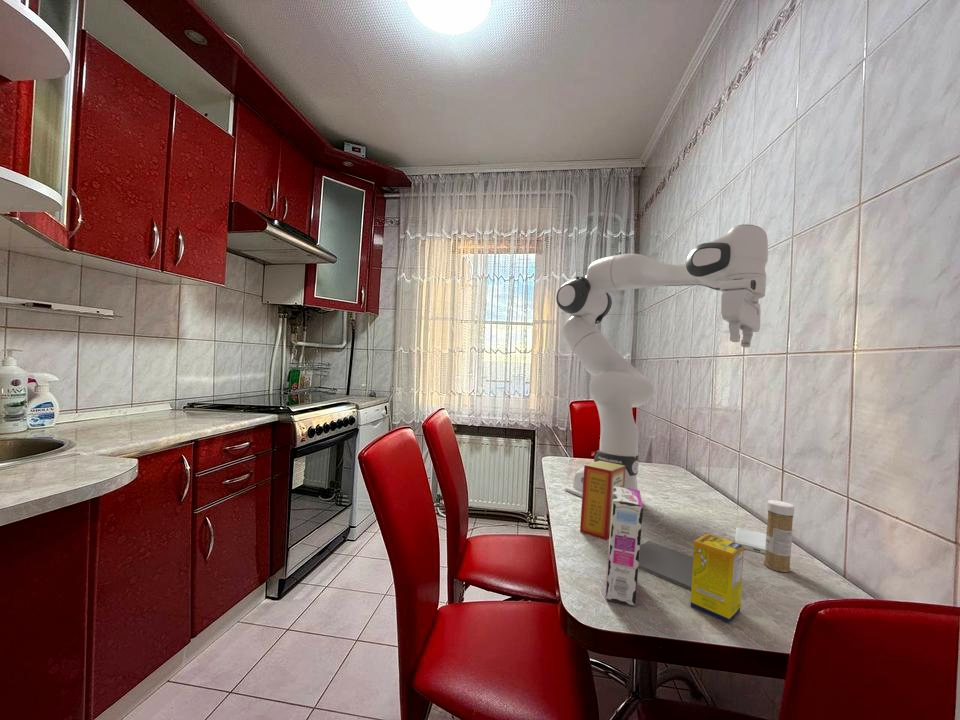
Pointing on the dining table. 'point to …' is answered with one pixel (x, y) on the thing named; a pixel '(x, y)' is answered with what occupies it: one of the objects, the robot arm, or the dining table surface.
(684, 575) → the mat
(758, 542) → the hard drive
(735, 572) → the supplement box
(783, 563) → the sprinkles bottle
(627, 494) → the candy bar box
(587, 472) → the baking soda box
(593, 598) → the dining table surface
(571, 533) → the dining table surface
